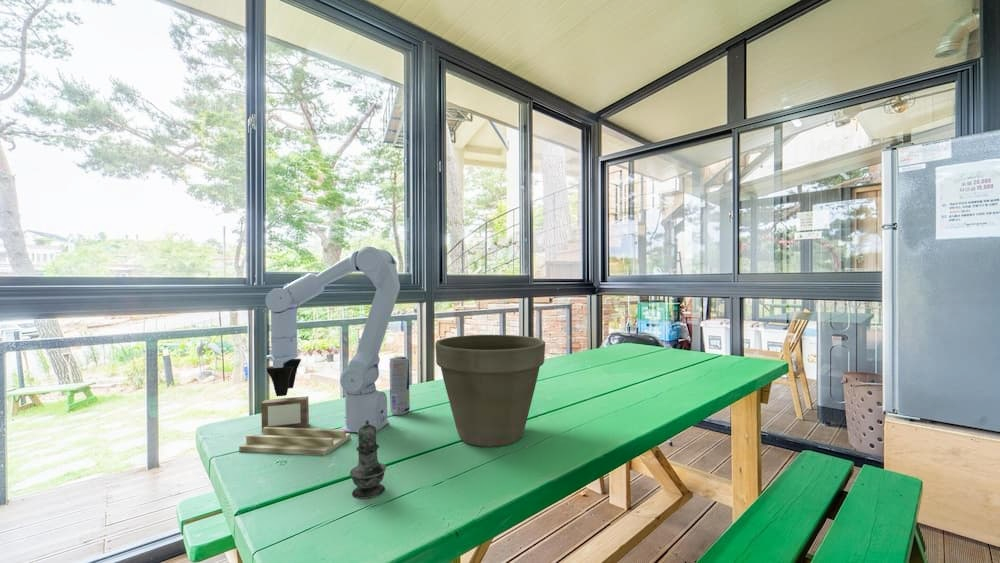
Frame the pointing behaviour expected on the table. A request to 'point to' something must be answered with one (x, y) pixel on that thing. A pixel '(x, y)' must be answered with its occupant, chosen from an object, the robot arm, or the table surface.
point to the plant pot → (490, 384)
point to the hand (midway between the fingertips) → (285, 391)
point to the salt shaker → (368, 465)
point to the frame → (285, 412)
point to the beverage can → (399, 385)
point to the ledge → (295, 441)
